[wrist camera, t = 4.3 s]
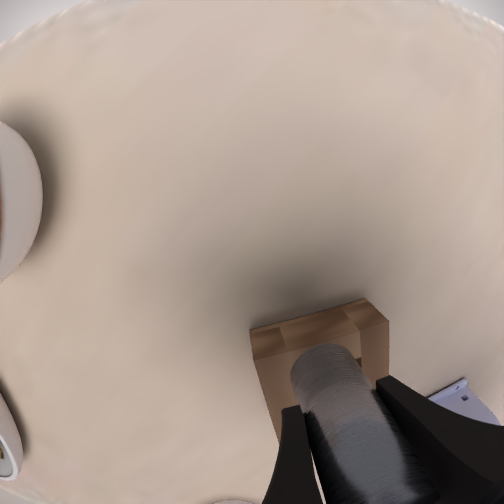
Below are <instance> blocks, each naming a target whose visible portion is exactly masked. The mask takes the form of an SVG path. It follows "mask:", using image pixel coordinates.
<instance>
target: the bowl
mask: <svg viewBox="0 0 504 504" xmlns="http://www.w3.org/2000/svg"><path fill="white" fill-rule="evenodd" d="M22 464H23V449H22V443H21V439H20V436H19V432H18V429H17V427H16V424H15V422H14V419H13V417H12V415H11V413H10V411H9V409H8V407H7V405H6V403H5V401H4V399H3V397H2V395H1V393H0V479H2V480H7V481H12V480H15V479H16V478H17V477H18V475H19V473H20V471H21V468H22Z"/></svg>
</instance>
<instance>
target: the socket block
mask: <svg viewBox="0 0 504 504" xmlns="http://www.w3.org/2000/svg"><path fill="white" fill-rule="evenodd" d="M249 331H250V338H251V345H252V353H253V360H254V364H255V367H256V370H257V374H258V377H259V380H260V384H261V387H262V390H263V393H264V397H265V400H266V403H267V407H268V410H269V413H270V416H271V419H272V423H273V426H274V429H275V432H276V435H277V438H278V442H279V445H280V439H281V429H282V415H281V411H282V410H283V408H287V407H291V406H295V405H297V402H296V398H295V395H294V391H293V388H292V385H291V381H290V372H291V369H292V366H293V364H294V363H295V361H296V360H297V359H298V358H299V357H300V356H301V355H302V354H303V353H304V352H306V351H307V350H309V349H311V348H313V347H315V346H318V345H322V344H338V345H341V346H344V347H345V348H347V349H348V350H349V351H350V352H351V354H352V355H353V357H354V358H355V360H356V361H357V363H358V364H359V366H360V367H361V369H362V370H363V372H364V373H365V375H366V376H367V378H368V379H369V381H370V382H371V384H372V386H373V387H374V389H375V390H376V380H378V379H381V378H383V377H386V376H389V320H387V319H386V318H385V317H384V316H383V315H382V314H381V313H380V312H379V311H378V310H377V309H376V308H375V307H374V306H373V305H372V304H371V303H370V302H369V301H368V300H366V299H365V298H364V299H361V300H358V301H355V302H351V303H348V304H345V305H341V306H338V307H335V308H331V309H328V310H324V311H321V312H317V313H314V314H310V315H307V316H303V317H299V318H296V319H292V320H288V321H284V322H280V323H276V324H272V325H268V326H264V327H260V328H256V329H252V330H249Z"/></svg>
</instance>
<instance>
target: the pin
mask: <svg viewBox="0 0 504 504" xmlns="http://www.w3.org/2000/svg"><path fill="white" fill-rule="evenodd" d="M290 381H291V385H292V388H293V391H294V395H295V398H296V402H297V405H299V404H300V407H301V410H302V413H303V416H304V419H305V424H306V429H307V435H308V441H309V446H310V449H311V453H312V456H313V460H314V463H315V466H316V470H317V473H318V477H319V480H320V484H321V487H322V490H323V494H324V497H325V501H326V504H436V503H437V502H438V500H439V498H440V492H439V491H438V489H437V487H436V486H435V484H434V482H433V481H432V479H431V477H430V476H429V474H428V473H427V471H426V469H425V468H424V466H423V464H422V463H421V461H420V459H419V458H418V456H417V455H416V453H415V451H414V450H413V448H412V447H411V445H410V443H409V442H408V440H407V439H406V437H405V435H404V434H403V432H402V431H401V429H400V427H399V426H398V424H397V423H396V421H395V420H394V418H393V417H392V415H391V413H390V412H389V410H388V409H387V407H386V406H385V404H384V402H383V401H382V399H381V398H380V396H379V395H378V393H377V392H376V390H375V389H374V387H373V386H372V384H371V382H370V381H369V379H368V378H367V376H366V375H365V373H364V372H363V370H362V369H361V367H360V366H359V364H358V363H357V361H356V360H355V358H354V357H353V355H352V354H351V352H350V351H349V350H348V349H347V348H345V347H344V346H341V345H338V344H322V345H318V346H315V347H313V348H311V349H309V350H307V351H306V352H304V353H303V354H302V355H301V356H300V357H299V358H298V359H297V360H296V361H295V363H294V364H293V366H292V369H291V372H290Z"/></svg>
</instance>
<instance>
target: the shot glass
mask: <svg viewBox="0 0 504 504" xmlns="http://www.w3.org/2000/svg"><path fill="white" fill-rule="evenodd" d="M214 504H253V503H250V502H247V501H240V500H226V501H220V502H217V503H214Z"/></svg>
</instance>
